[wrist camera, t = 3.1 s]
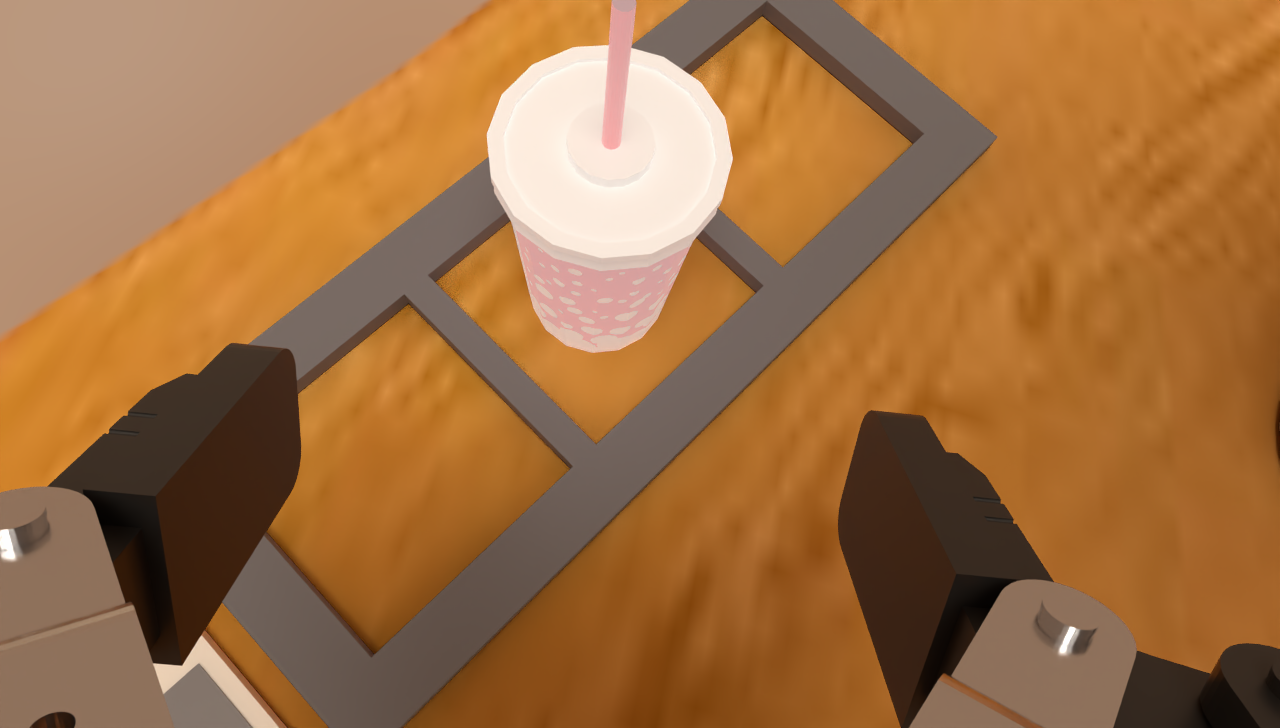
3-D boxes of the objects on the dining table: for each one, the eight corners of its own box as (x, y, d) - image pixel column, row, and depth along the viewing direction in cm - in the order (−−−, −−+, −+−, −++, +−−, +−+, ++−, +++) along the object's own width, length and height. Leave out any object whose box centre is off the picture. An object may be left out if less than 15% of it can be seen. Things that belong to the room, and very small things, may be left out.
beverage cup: (710, 345, 30) (828, 95, 16) (537, 397, 29) (515, 174, 15) (651, 193, 31) (715, -145, 18) (487, 236, 30) (427, -89, 17)
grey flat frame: (759, -42, 35) (763, -57, 34) (987, 148, 33) (997, 137, 32) (113, 465, 27) (100, 459, 26) (367, 762, 25) (361, 765, 24)
